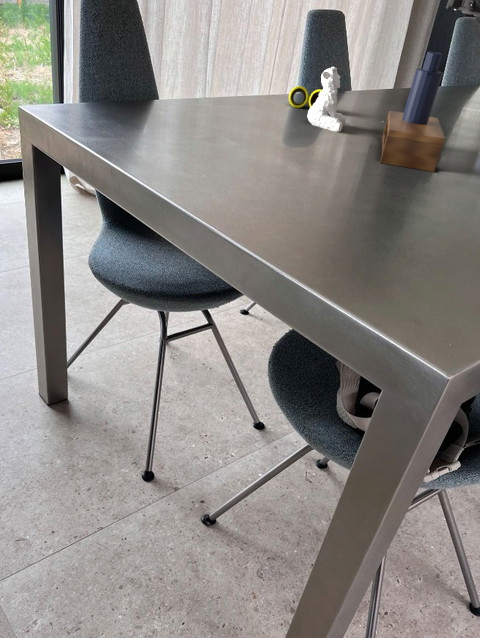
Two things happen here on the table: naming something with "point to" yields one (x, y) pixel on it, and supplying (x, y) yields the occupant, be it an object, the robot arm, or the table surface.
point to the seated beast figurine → (327, 103)
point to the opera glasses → (310, 99)
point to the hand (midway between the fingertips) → (473, 4)
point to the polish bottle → (423, 90)
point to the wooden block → (411, 143)
